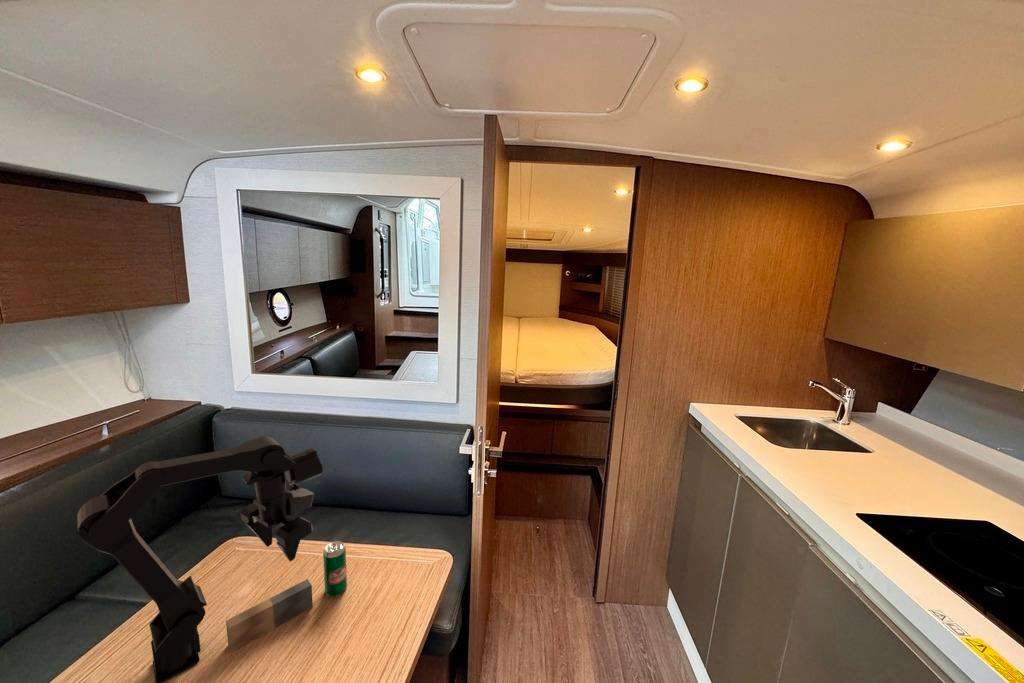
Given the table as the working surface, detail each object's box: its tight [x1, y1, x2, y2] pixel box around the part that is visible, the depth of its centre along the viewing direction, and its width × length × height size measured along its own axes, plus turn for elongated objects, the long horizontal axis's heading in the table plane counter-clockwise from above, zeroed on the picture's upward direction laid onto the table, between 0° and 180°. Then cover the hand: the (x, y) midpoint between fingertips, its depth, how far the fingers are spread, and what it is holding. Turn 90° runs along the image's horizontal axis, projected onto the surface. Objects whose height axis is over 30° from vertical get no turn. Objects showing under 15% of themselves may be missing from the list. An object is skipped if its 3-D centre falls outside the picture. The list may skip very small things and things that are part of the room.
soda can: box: [322, 540, 348, 597], centre depth 95 cm, size 5×5×12 cm
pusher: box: [225, 578, 314, 654], centre depth 86 cm, size 16×2×6 cm, turn 137°
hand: (280, 552), depth 89 cm, fingers open, 9 cm apart
